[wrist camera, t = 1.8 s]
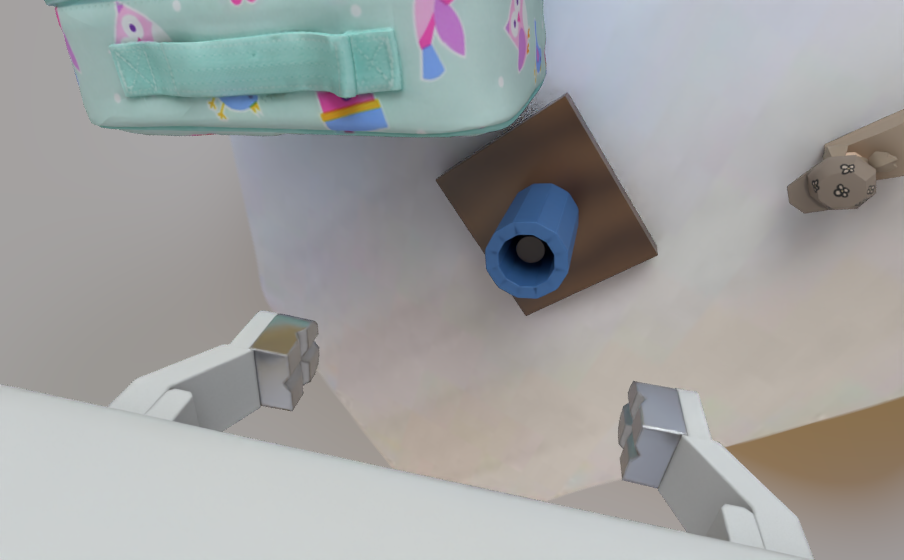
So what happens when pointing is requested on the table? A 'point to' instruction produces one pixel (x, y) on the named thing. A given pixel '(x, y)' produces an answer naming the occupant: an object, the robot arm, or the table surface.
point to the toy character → (852, 167)
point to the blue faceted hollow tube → (548, 220)
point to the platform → (567, 166)
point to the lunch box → (305, 65)
